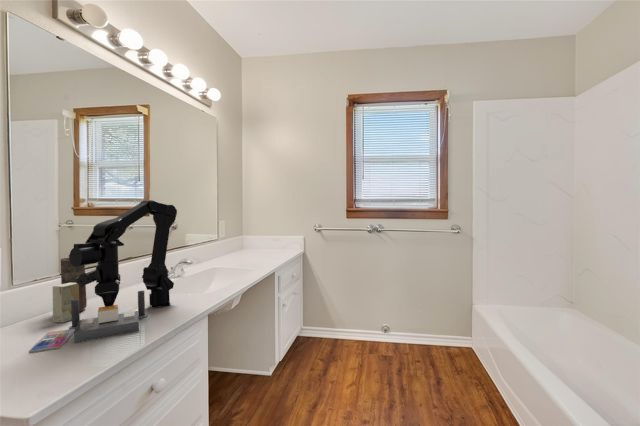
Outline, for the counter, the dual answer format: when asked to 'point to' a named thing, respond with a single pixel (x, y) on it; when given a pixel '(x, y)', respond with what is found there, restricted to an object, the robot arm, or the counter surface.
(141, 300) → the post
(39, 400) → the counter surface
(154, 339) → the counter surface
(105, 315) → the slider
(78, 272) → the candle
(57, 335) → the smartphone
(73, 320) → the post
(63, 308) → the skincare box
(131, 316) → the panel
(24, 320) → the counter surface
